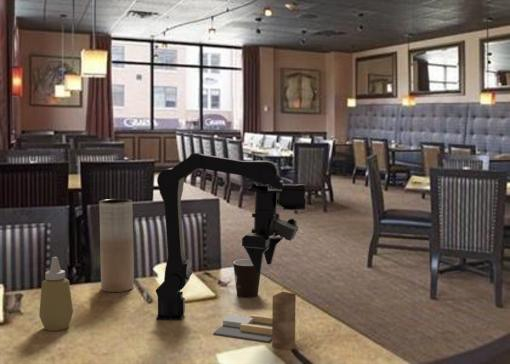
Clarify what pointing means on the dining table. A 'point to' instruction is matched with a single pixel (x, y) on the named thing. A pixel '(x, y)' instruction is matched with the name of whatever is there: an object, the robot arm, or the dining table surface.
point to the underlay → (247, 327)
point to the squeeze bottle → (55, 299)
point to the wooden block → (283, 320)
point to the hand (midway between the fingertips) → (263, 268)
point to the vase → (116, 245)
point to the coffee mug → (246, 278)
